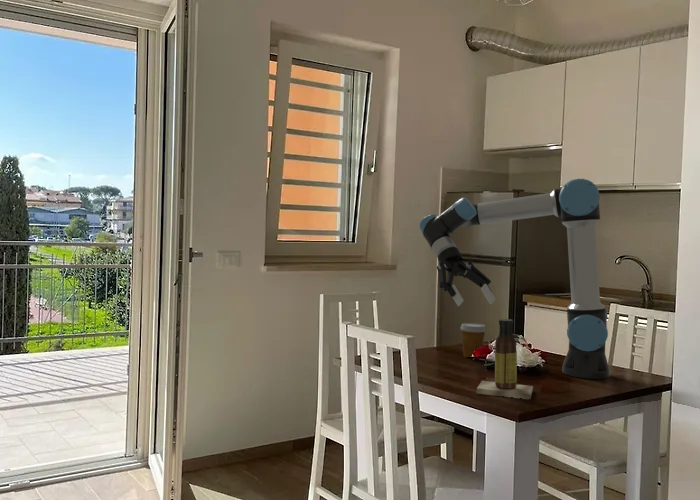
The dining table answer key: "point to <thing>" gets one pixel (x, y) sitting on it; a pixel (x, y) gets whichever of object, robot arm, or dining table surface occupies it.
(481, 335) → the disposable coffee cup
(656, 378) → the dining table surface
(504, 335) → the sauce bottle
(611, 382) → the dining table surface
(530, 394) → the birch board
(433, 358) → the dining table surface
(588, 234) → the robot arm
